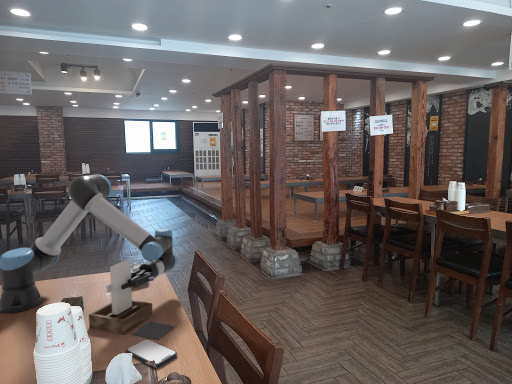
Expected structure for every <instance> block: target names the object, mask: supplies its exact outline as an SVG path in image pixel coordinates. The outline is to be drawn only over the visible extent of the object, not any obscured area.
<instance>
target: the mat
mask: <svg viewBox="0 0 512 384" xmlns="http://www.w3.org/2000/svg"><path fill="white" fill-rule="evenodd" d="M175 326H176V325H173V324H167V323H161V322H157V321H152V320H150V321H148V322H147V323H145V324H144V325H142V326H141V327H139V328H138V329H136V330H135V331H134V332H132V333H131V334H132V336H138V337H142V338H146V339H150V340H157V341H159V340H160V339H162V338H163V337H164V336H165V335H167V334H169V332H170V331H171V330H173V329H174V328H175Z"/></svg>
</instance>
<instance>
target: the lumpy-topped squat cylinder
mask: <svg viewBox="0 0 512 384" xmlns="http://www.w3.org/2000/svg"><path fill="white" fill-rule="evenodd" d="M142 264H144V263H140V264H139V263H137V262H134V263H130V266H131V272H134V271H136V270H138V269H139V267H140V266H141V265H142Z"/></svg>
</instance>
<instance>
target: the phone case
mask: <svg viewBox="0 0 512 384" xmlns="http://www.w3.org/2000/svg"><path fill="white" fill-rule="evenodd" d="M125 352H126V354H127V353H132V354H133V357H132V358H134V359H136V360H139V361H140V362H142V363H144V362H148V361H153V360H154V361H155V363H156V367H157V368H156V369H160V368H161V367H163V366H164V365H166V364H168V363H169V362H171V361H172V360H175V359H176V358H177V357H178V352H177V351H176V350H173V349H171V348H168V347H167V346H164V345H163V344H159V343H157V342H155V341H153V340H152V339H150V338H146V339H143V340H141V341H139V342H137V343H135V344H133V345H131V346H129V347H127V348H126V349H125Z"/></svg>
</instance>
